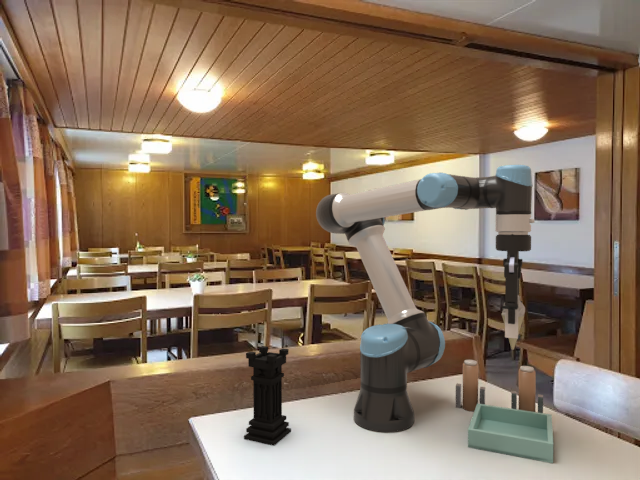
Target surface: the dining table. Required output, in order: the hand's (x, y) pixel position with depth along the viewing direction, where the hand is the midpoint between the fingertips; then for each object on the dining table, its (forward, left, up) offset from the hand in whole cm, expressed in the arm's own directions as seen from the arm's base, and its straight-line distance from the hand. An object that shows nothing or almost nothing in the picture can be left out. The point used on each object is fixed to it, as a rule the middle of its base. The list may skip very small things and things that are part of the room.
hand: (512, 334), depth 108 cm
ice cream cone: (0, 0, -4) cm, 4 cm away
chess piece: (-52, -22, -24) cm, 62 cm away
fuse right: (+3, +15, -24) cm, 29 cm away
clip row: (-4, +15, -24) cm, 29 cm away
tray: (0, 0, -24) cm, 24 cm away
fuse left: (-11, +15, -24) cm, 31 cm away
